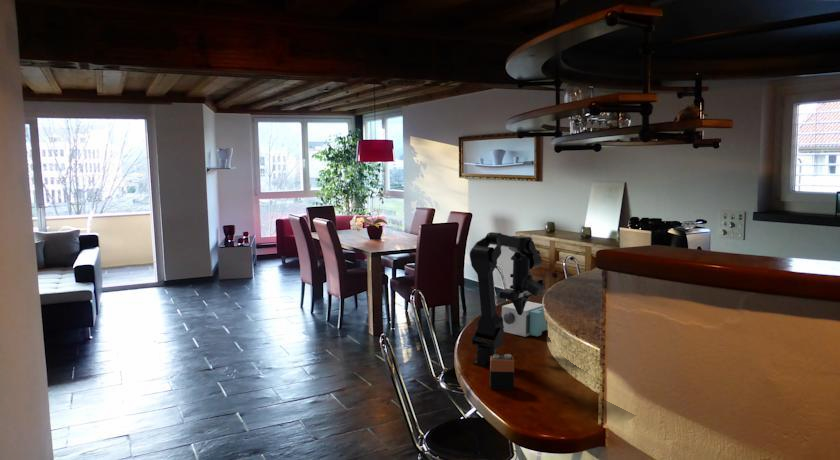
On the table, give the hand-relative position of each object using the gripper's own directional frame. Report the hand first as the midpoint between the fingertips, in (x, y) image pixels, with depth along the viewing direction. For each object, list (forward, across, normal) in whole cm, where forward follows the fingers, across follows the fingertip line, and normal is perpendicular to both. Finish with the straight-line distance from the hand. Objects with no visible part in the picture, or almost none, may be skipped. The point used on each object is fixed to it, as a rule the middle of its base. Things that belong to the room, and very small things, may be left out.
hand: (520, 314), depth 217 cm
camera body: (+12, +20, +12) cm, 26 cm away
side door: (+12, +21, +4) cm, 24 cm away
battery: (+12, -36, -18) cm, 42 cm away
